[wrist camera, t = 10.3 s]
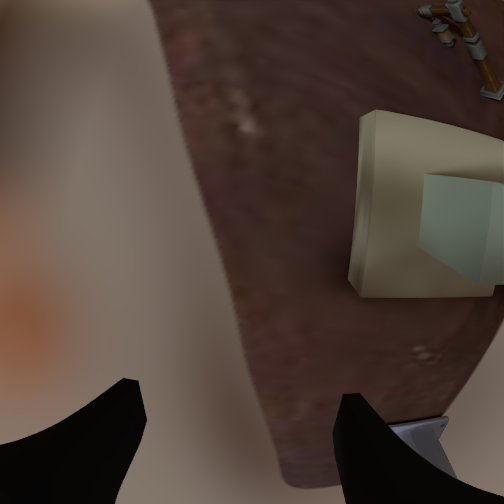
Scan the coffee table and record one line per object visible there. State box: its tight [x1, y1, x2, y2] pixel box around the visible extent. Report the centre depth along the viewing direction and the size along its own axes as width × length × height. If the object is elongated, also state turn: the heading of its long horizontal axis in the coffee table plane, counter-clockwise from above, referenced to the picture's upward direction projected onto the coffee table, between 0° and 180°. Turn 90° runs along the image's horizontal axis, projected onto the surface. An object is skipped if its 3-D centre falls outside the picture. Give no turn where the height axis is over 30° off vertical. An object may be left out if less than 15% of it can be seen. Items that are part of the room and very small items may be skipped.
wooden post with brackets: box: [415, 0, 504, 100], centre depth 14 cm, size 2×8×4 cm, turn 50°
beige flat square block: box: [348, 110, 504, 298], centre depth 16 cm, size 10×10×3 cm
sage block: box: [418, 174, 504, 285], centre depth 12 cm, size 4×4×6 cm
